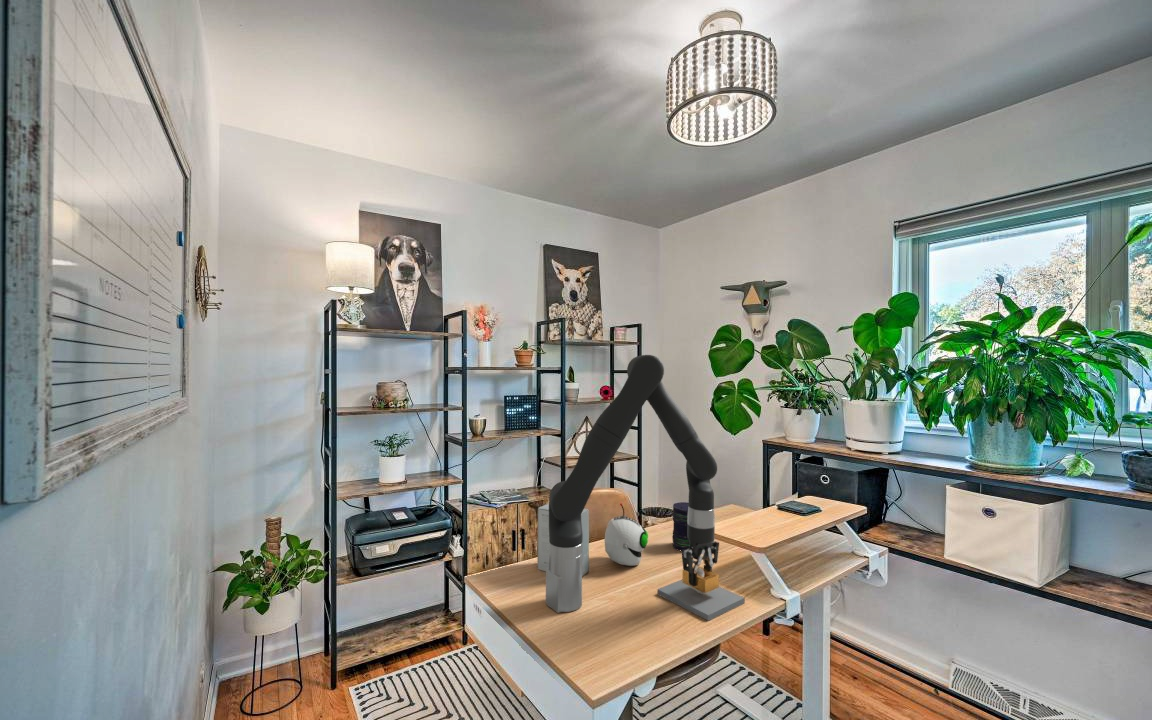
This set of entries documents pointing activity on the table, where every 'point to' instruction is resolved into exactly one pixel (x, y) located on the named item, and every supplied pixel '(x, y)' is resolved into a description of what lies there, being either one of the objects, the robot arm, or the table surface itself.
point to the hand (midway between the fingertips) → (700, 582)
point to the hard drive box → (544, 539)
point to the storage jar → (680, 526)
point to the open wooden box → (703, 580)
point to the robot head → (625, 540)
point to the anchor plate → (701, 599)
